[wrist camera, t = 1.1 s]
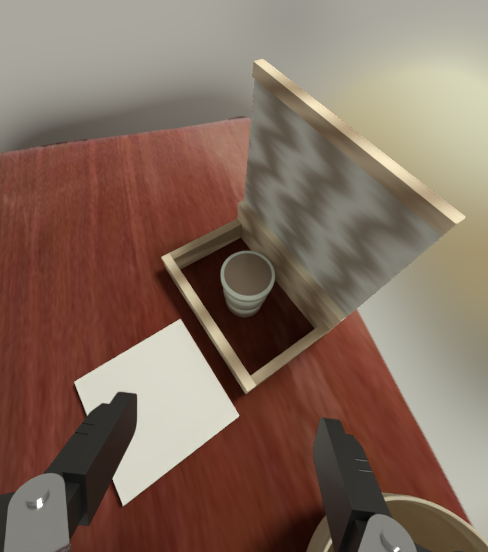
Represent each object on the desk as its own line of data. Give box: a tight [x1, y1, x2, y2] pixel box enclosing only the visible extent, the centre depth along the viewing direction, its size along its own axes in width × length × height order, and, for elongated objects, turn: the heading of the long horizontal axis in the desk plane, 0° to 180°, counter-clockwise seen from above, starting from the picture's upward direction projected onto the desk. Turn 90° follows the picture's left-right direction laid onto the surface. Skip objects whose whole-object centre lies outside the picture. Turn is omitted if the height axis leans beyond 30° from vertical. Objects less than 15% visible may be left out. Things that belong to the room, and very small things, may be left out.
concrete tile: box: [74, 319, 239, 506], centre depth 32 cm, size 14×14×1 cm
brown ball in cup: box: [221, 251, 275, 318], centre depth 36 cm, size 6×6×8 cm
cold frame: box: [161, 59, 465, 394], centre depth 29 cm, size 21×14×24 cm
